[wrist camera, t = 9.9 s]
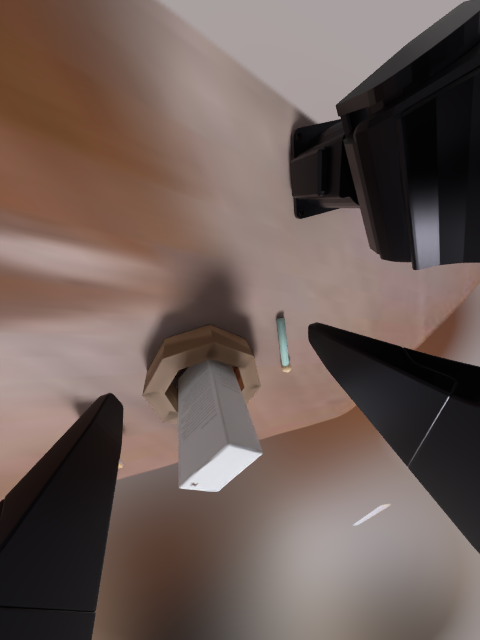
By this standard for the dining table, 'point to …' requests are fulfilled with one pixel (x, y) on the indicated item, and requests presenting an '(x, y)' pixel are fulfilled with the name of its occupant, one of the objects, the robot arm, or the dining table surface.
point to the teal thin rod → (283, 344)
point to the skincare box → (213, 427)
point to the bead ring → (193, 351)
